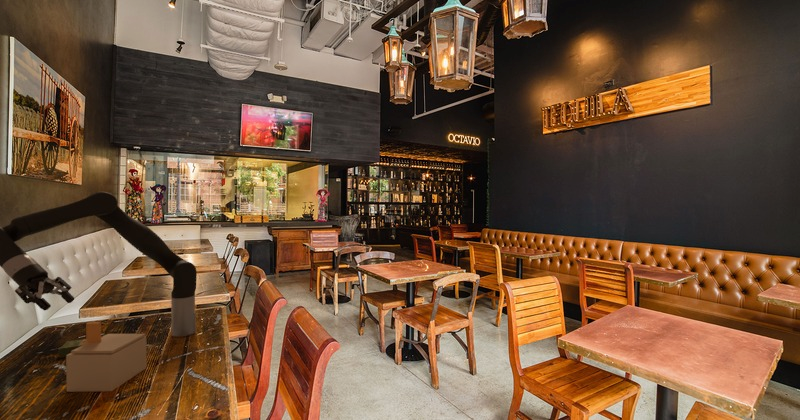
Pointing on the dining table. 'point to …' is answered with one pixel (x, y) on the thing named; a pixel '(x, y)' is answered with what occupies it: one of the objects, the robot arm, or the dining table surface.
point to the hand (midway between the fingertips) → (60, 304)
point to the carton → (71, 347)
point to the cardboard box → (105, 368)
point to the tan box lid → (104, 340)
